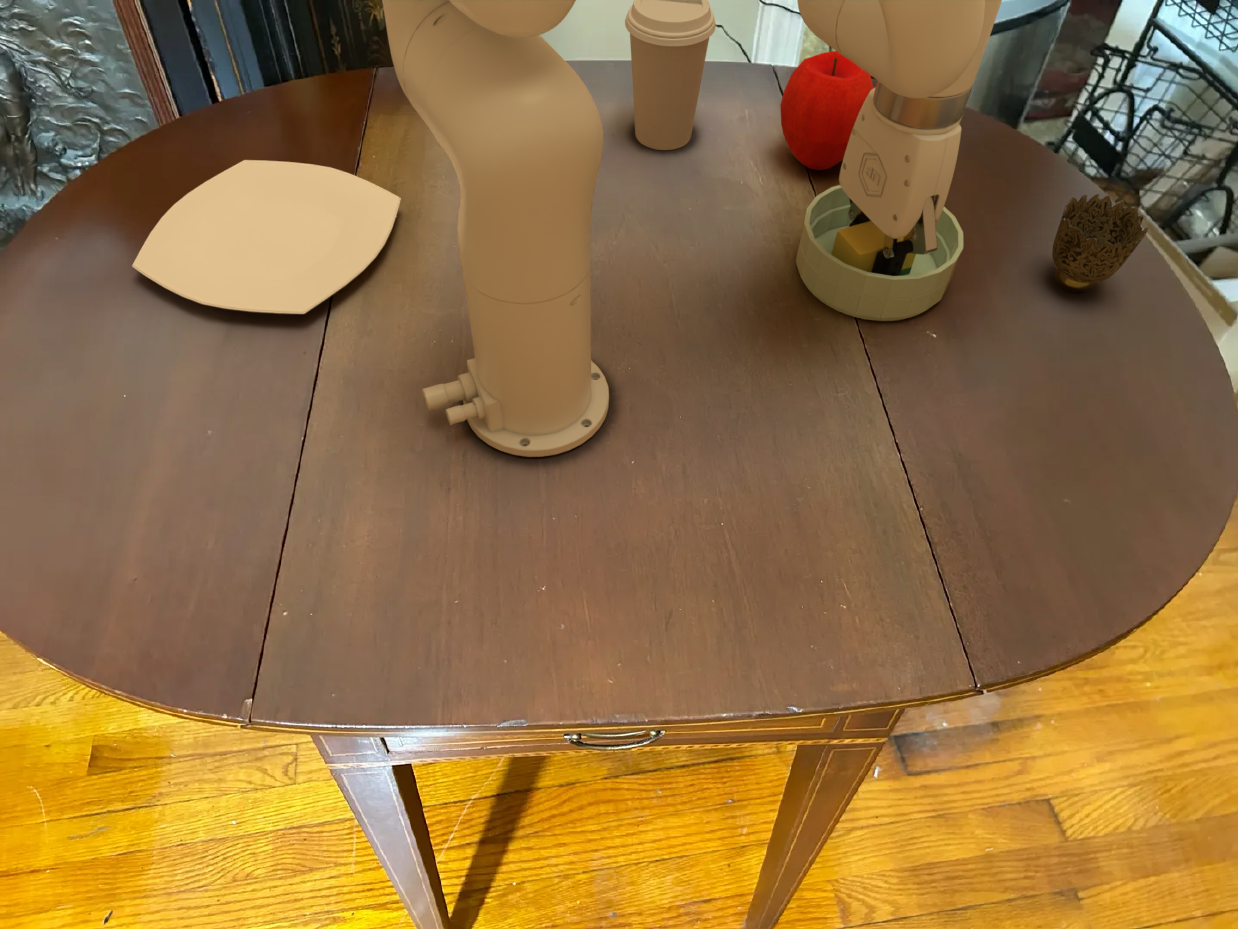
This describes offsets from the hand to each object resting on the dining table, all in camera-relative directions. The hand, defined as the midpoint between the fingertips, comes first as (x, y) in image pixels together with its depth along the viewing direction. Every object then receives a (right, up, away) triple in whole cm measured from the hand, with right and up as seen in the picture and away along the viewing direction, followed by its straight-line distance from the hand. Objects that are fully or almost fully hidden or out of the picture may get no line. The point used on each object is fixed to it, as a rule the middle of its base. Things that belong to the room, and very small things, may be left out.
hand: (869, 266), depth 90 cm
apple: (-3, +15, +13) cm, 20 cm away
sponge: (0, 0, 0) cm, 0 cm away
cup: (+20, -2, +1) cm, 21 cm away
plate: (-59, +2, +2) cm, 60 cm away
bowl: (0, 0, +1) cm, 1 cm away
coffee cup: (-20, +19, +16) cm, 32 cm away
